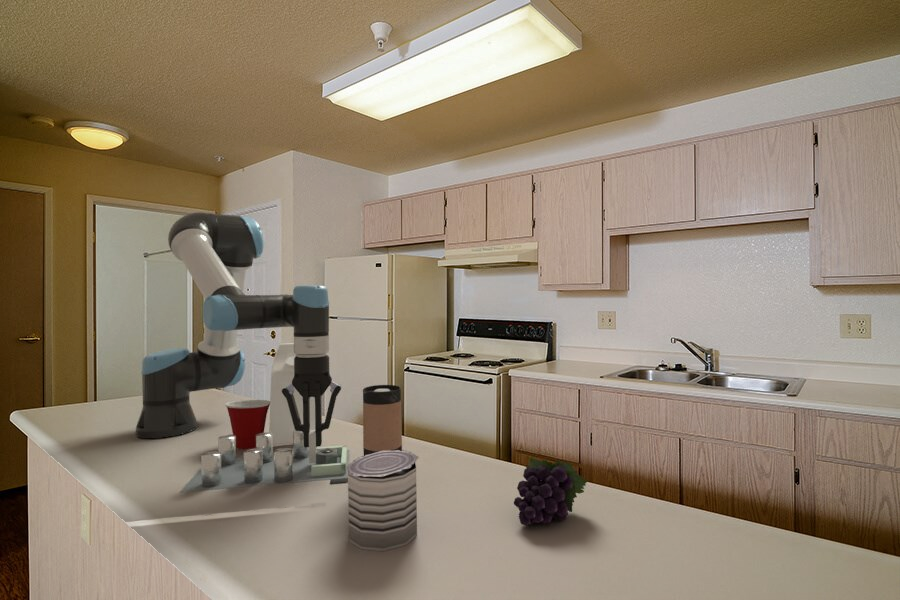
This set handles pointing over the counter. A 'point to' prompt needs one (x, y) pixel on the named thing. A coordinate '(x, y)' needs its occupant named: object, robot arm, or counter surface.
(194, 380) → the robot arm
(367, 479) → the can
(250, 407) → the plastic cup
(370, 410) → the travel mug
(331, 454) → the nut
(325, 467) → the parts pocket
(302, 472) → the board
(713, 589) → the counter surface
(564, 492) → the fruit
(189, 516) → the counter surface
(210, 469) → the spacers
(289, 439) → the milk
